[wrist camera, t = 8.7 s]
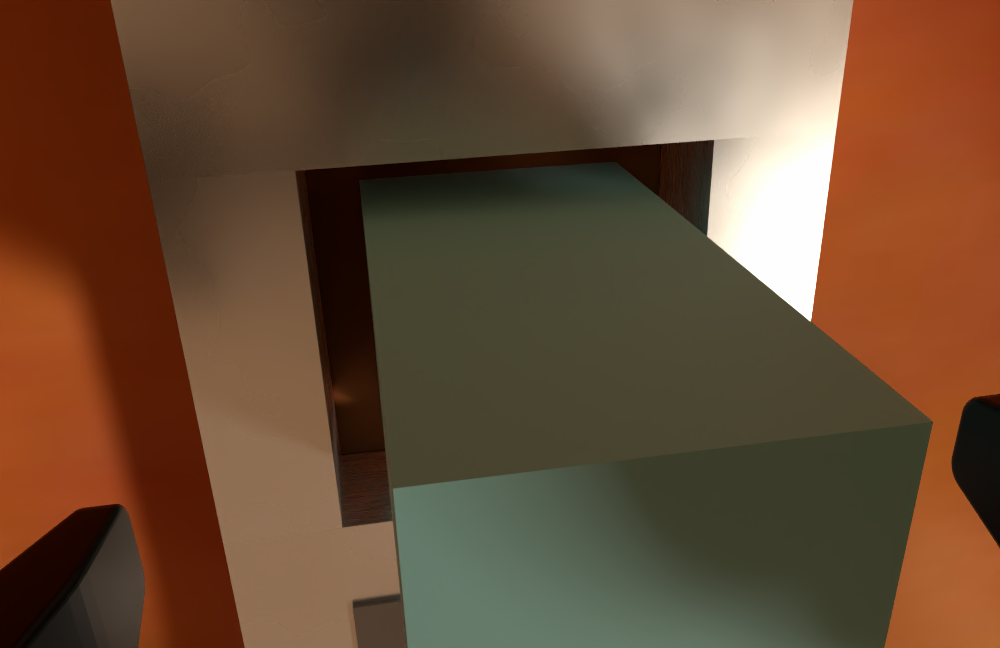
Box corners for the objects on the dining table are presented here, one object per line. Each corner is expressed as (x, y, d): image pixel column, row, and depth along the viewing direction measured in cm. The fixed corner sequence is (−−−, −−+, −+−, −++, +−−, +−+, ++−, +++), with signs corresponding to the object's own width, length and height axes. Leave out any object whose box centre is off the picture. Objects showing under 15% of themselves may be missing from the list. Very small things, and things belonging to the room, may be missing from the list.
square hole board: (690, 893, 22) (724, 984, 20) (331, 967, 21) (331, 1072, 19) (800, -212, 12) (889, -238, 10) (108, -204, 10) (59, -233, 9)
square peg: (608, 384, 15) (854, 788, 8) (381, 409, 15) (428, 868, 8) (615, 161, 14) (932, 420, 6) (359, 179, 13) (393, 488, 6)
